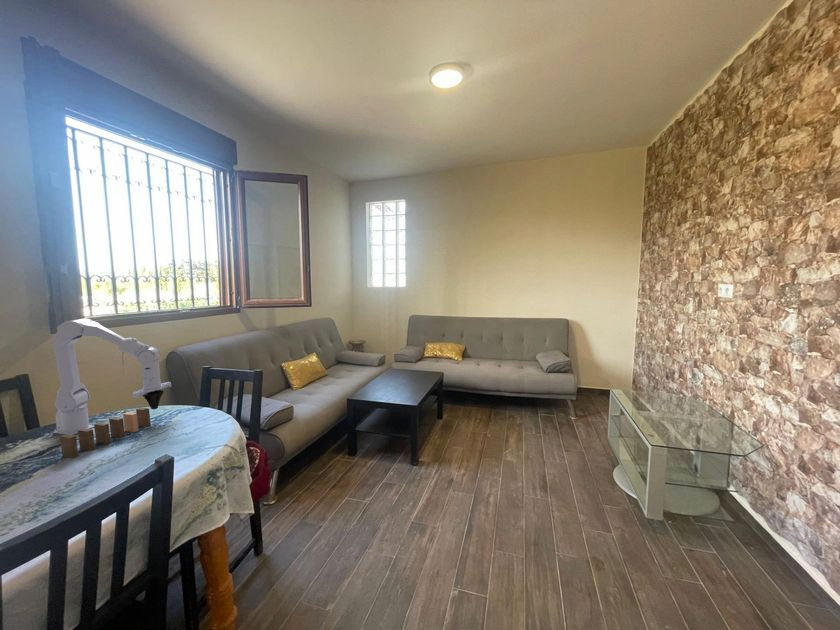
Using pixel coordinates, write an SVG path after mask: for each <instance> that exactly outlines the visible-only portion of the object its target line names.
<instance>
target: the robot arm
mask: <svg viewBox="0 0 840 630" xmlns="http://www.w3.org/2000/svg"><path fill="white" fill-rule="evenodd" d="M56 328H57V329H56V330H57V331H56V333H55V335H54V338H53V340H52V346H53V351H54V358H55V362H56V369H57V374H58V375H57V376H58V380H59V385H60V387H59V389H58V390H57V392H56V395H55V396H56V398H55V401H54V408H56V409H57V412H56V413H55V416H54V417H55V425H56V430H55V431H54V432H53V433H54V434H60V435H66V434H67V435H74V436H75V435H76V434H77V435H78V430H79V429H82V428H86V429H94V424H90V421H89V412H88V411H89V410H88V401H89V400H90V398H91V394H90V392H89V390H88V389H87V388H86V387H87V386H86V385H85V384H84V383H82V382H81V378H80V377H81V376H80V371H79V366H78V359H77V354H76V348H75V343H76V342H78V341H80V340H81V338H82V337H97V338H99V339H102V340H105V341H107V342H109V343H111V344H113V345H116V346H118V349H119V350H120V351H121V352H123V353H126V354H127V355H130V356H131V357H135V358H136V359H137V361H138V362H139V363H140V366H141V376H142V386H143V387H142V388H141V389H139V390H137V391H134V392H132V393H131V394H132V396H131V398H134V399H138V398H140V397H143V398H144V399H145V400H146V401H147V403H148V405H149V409H151V410H156V409H159V404H160V400H161V398H162V396H163V394H164V390H162V389H166V388H171V387H172V382H171V381H167V382H166V381H165V382H162V381H161V371H160V370H161V369H160V362H159V361H160V360H159V359H160V357H161V350H160V349H159V348H157V347H156V346H150V345H149V344H145V343H144V342H143V343H142V342H141V341H139V340H138V339H137V338H135V337H133V338H132V337H127V338H125V337H123V336H121V335H120V334H117V333H115V332H114V331H112V330H110V329H108V328H107V327H105V326H103V325H102V324H100V323H99V321H98V322H97V321H93V320H92V319H90V318H87V317H82V318H79V319H73V320H66V321H64V322H63V323H61V324H60V325H58V326H57V327H56Z"/></svg>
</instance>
